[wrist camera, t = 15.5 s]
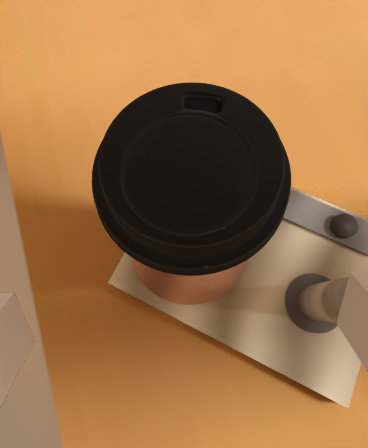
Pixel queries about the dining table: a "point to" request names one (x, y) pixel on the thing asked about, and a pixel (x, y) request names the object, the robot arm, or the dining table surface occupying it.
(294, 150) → the dining table surface
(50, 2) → the dining table surface
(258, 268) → the control board
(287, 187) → the coffee cup
